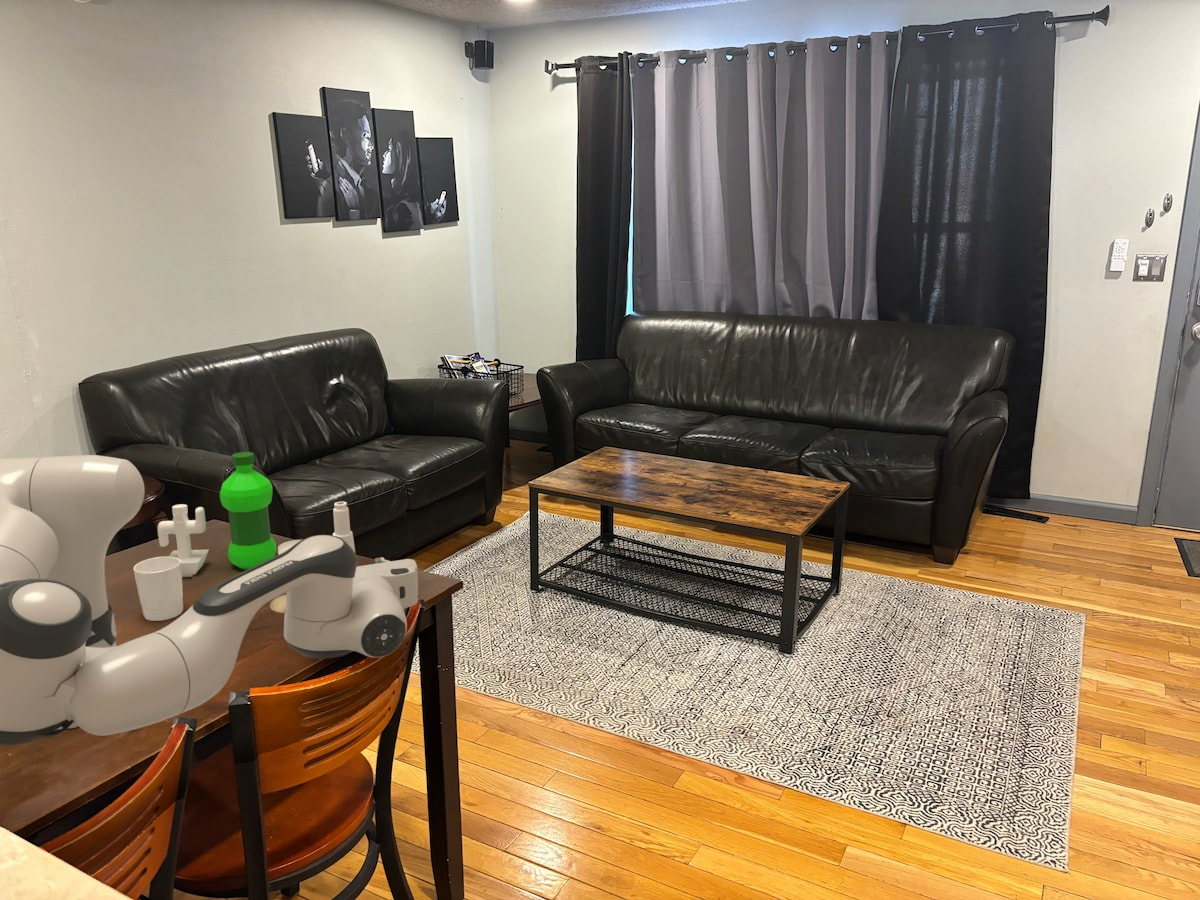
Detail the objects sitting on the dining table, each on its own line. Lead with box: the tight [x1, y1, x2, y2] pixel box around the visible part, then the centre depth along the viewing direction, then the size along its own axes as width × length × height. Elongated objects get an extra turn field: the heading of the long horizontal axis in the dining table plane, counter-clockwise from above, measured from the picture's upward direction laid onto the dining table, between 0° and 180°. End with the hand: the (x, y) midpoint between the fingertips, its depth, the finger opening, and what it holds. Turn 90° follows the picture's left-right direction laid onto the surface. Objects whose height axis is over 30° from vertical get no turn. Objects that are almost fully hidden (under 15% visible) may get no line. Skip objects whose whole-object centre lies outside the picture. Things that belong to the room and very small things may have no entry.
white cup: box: [132, 556, 184, 622], centre depth 161 cm, size 8×8×10 cm
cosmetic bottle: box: [332, 501, 356, 553], centre depth 161 cm, size 6×6×22 cm
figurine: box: [157, 503, 210, 578], centre depth 179 cm, size 7×9×15 cm
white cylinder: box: [277, 539, 302, 556], centre depth 177 cm, size 7×7×7 cm
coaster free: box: [269, 594, 287, 614], centre depth 167 cm, size 9×9×1 cm
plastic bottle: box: [219, 451, 277, 571], centre depth 181 cm, size 10×10×25 cm
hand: (352, 565), depth 156 cm, fingers open, 8 cm apart
